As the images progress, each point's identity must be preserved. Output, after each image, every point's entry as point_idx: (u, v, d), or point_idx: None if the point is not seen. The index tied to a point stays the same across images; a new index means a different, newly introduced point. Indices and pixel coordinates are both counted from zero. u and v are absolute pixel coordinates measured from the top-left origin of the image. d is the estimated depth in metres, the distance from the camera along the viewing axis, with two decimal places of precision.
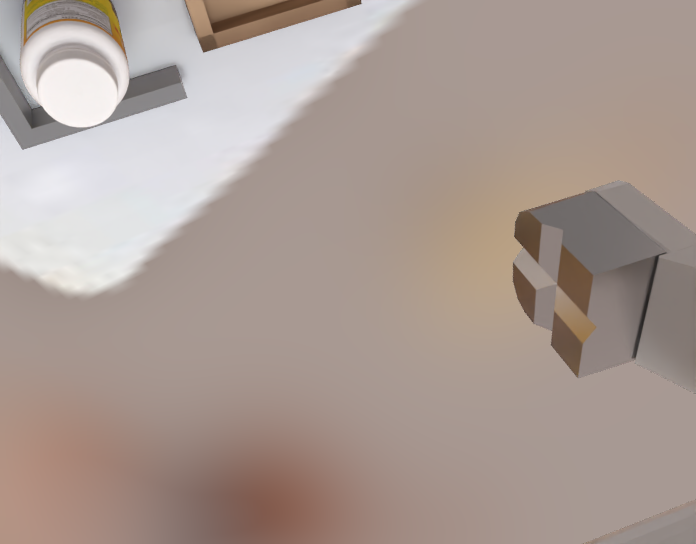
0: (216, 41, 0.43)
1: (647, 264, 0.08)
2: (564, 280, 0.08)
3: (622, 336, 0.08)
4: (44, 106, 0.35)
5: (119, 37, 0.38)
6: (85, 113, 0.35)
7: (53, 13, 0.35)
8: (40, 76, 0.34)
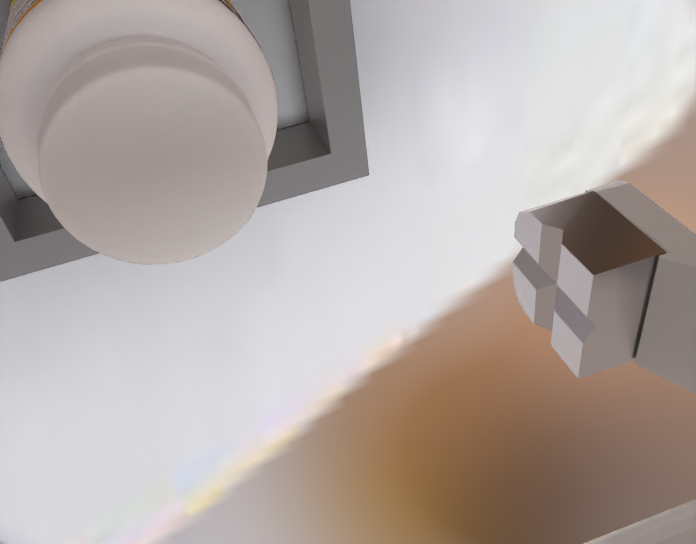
0: None
1: (647, 264, 0.08)
2: (564, 280, 0.08)
3: (622, 336, 0.08)
4: (190, 255, 0.13)
5: None
6: (222, 166, 0.12)
7: None
8: (104, 252, 0.13)
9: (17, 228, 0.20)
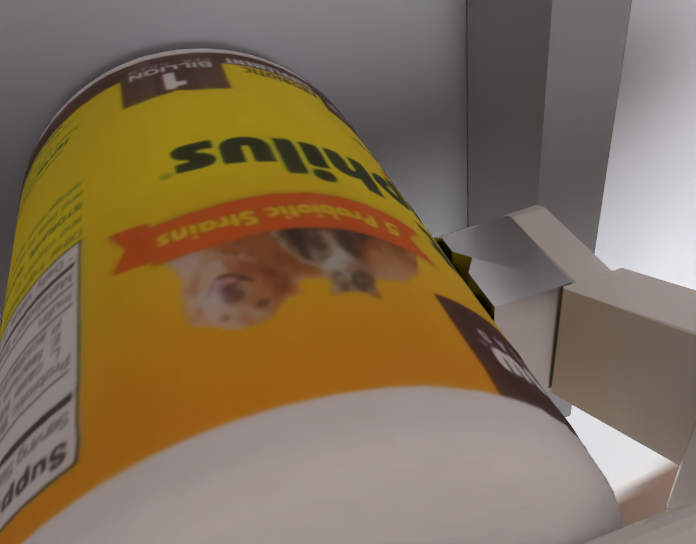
0: None
1: (552, 294, 0.07)
2: None
3: (534, 366, 0.08)
4: None
5: (160, 288, 0.05)
6: None
7: None
8: None
9: None
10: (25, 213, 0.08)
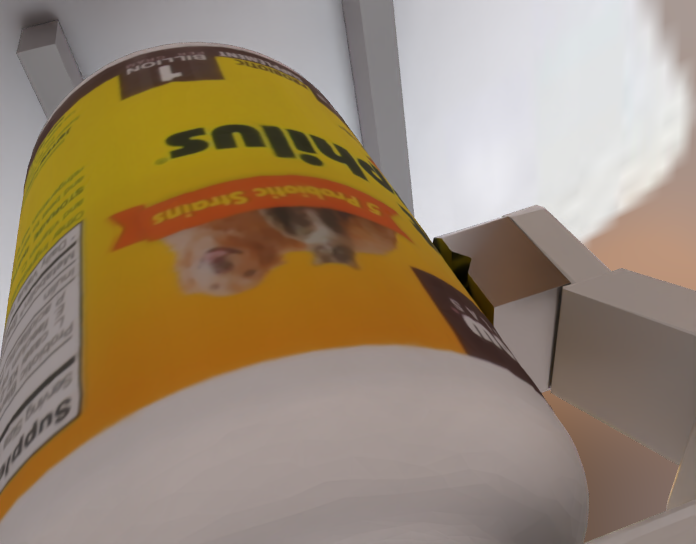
0: None
1: (552, 295, 0.07)
2: None
3: (534, 366, 0.08)
4: None
5: (155, 261, 0.06)
6: None
7: None
8: None
9: None
10: (29, 199, 0.09)
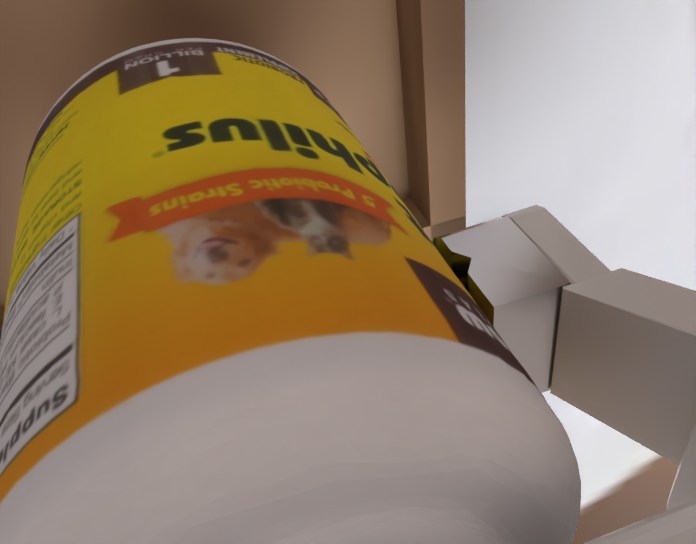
0: (449, 219, 0.18)
1: (552, 295, 0.07)
2: None
3: (534, 366, 0.08)
4: None
5: (152, 252, 0.06)
6: None
7: None
8: None
9: None
10: (28, 193, 0.09)
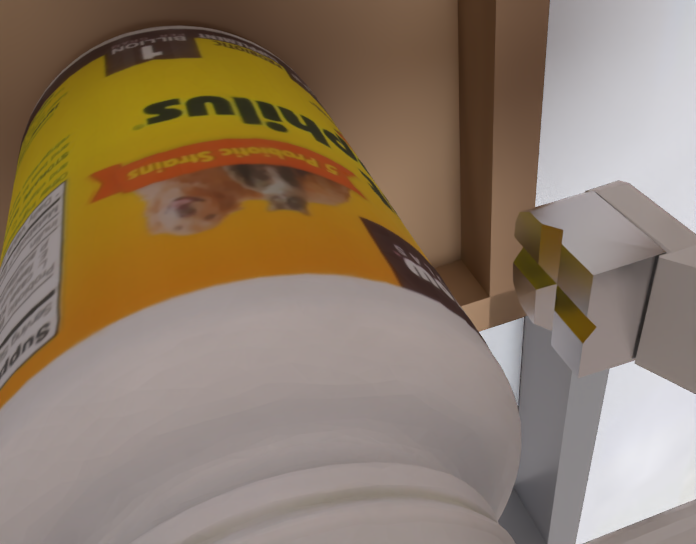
0: (511, 289, 0.15)
1: (647, 264, 0.08)
2: (564, 280, 0.08)
3: (622, 336, 0.08)
4: None
5: (128, 209, 0.06)
6: None
7: None
8: None
9: None
10: (21, 169, 0.09)
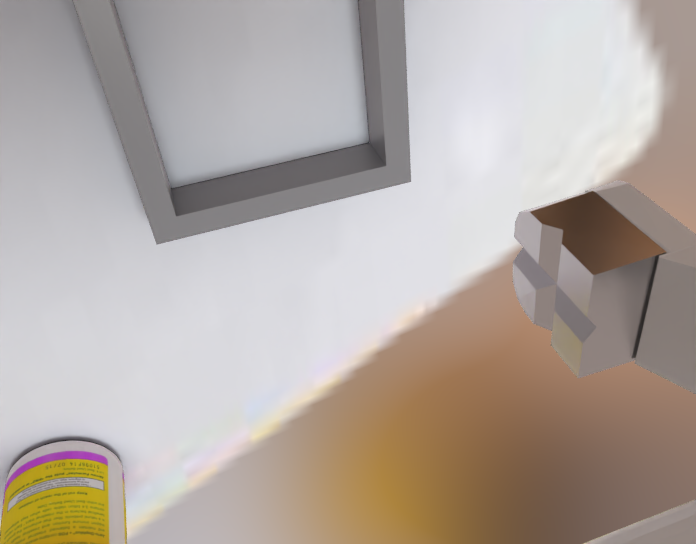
0: None
1: (647, 264, 0.08)
2: (564, 280, 0.08)
3: (622, 336, 0.08)
4: None
5: None
6: None
7: None
8: None
9: (175, 207, 0.30)
10: None
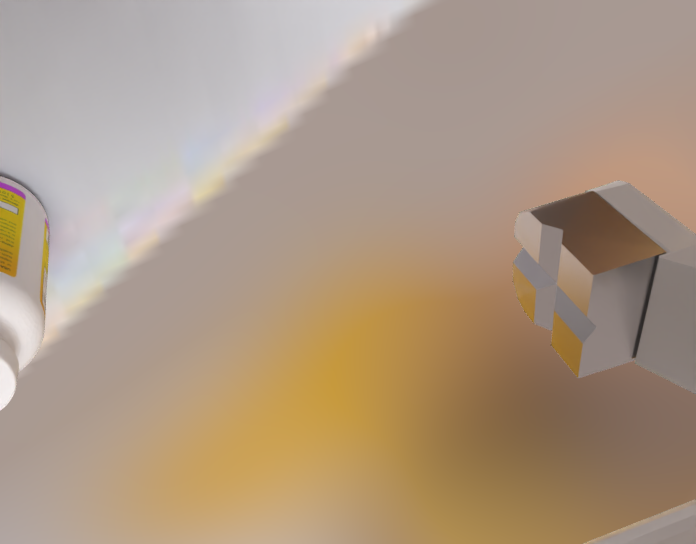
0: None
1: (647, 264, 0.08)
2: (564, 280, 0.08)
3: (622, 336, 0.08)
4: None
5: None
6: None
7: None
8: None
9: None
10: None
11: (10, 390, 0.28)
